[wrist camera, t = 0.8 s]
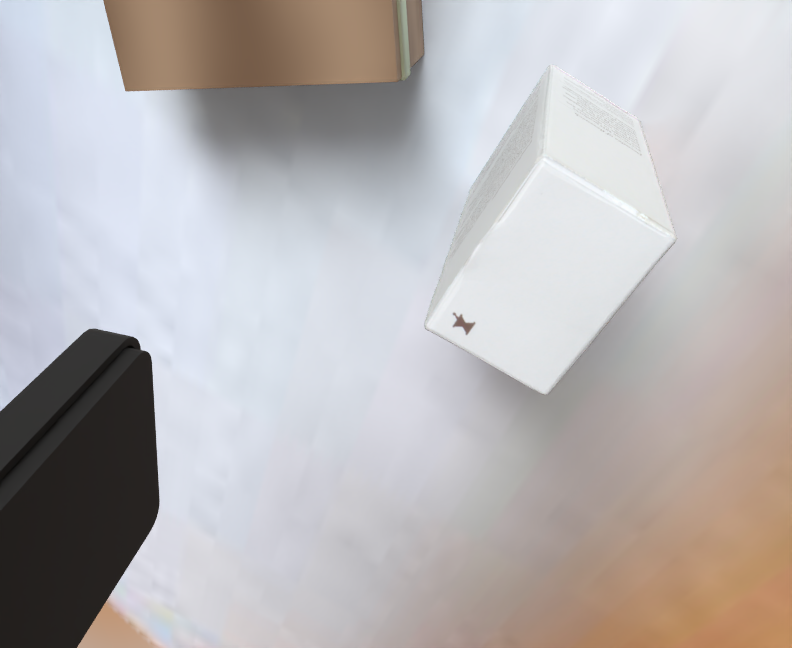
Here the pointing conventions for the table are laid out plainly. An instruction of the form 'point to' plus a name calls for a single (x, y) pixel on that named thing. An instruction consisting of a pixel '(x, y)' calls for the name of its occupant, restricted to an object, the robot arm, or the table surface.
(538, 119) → the skincare box
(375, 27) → the gift box
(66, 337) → the table surface
